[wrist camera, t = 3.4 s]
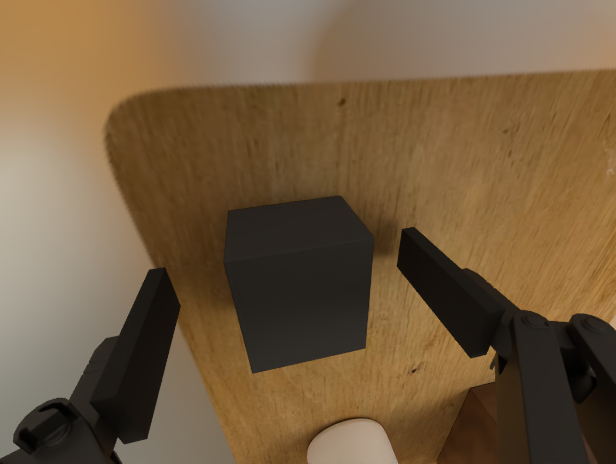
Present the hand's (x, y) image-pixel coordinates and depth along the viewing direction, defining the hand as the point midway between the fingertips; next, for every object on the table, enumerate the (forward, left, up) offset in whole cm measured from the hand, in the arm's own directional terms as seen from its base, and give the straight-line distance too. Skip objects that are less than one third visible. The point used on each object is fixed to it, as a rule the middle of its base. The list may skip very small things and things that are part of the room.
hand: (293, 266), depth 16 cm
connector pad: (0, 0, -1) cm, 1 cm away
